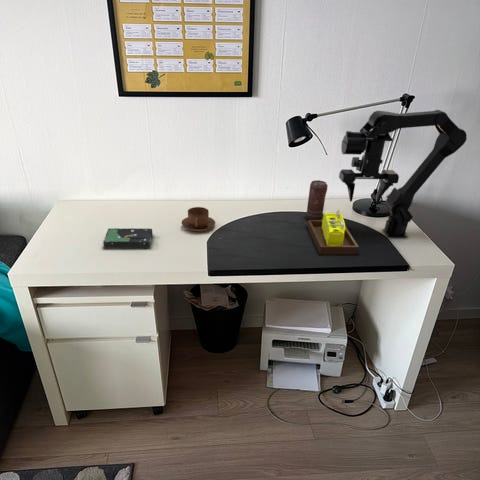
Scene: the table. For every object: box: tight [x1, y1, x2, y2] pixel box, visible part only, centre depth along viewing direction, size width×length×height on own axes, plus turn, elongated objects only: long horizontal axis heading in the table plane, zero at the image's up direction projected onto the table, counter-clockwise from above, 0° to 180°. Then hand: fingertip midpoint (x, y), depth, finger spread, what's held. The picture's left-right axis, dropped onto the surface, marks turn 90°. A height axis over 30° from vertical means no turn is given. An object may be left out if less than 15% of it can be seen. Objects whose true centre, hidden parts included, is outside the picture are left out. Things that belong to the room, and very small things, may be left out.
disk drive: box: [103, 227, 154, 249], centre depth 145 cm, size 10×3×15 cm
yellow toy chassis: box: [321, 208, 346, 246], centre depth 150 cm, size 16×6×8 cm, turn 178°
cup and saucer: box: [181, 206, 216, 232], centre depth 156 cm, size 12×12×6 cm
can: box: [305, 179, 328, 221], centre depth 163 cm, size 6×6×14 cm
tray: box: [306, 219, 360, 256], centre depth 152 cm, size 13×22×3 cm, turn 4°
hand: (363, 201), depth 151 cm, fingers open, 9 cm apart
